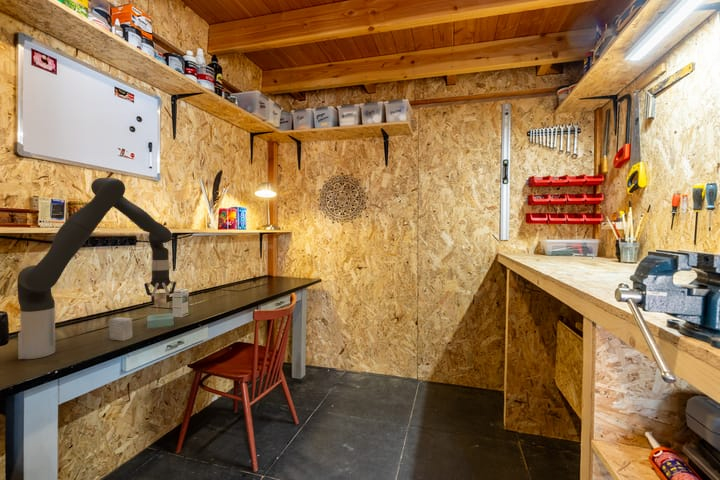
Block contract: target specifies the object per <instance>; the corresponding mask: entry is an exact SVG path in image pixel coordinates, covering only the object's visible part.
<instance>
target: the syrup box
mask: <svg viewBox="0 0 720 480" xmlns="http://www.w3.org/2000/svg"><path fill="white" fill-rule="evenodd" d="M189 297H190V289H189V288H178V289H174V293H173V294H172V313H173V317H174V318H184V317H185V316H189V315H190V298H189Z"/></svg>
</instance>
